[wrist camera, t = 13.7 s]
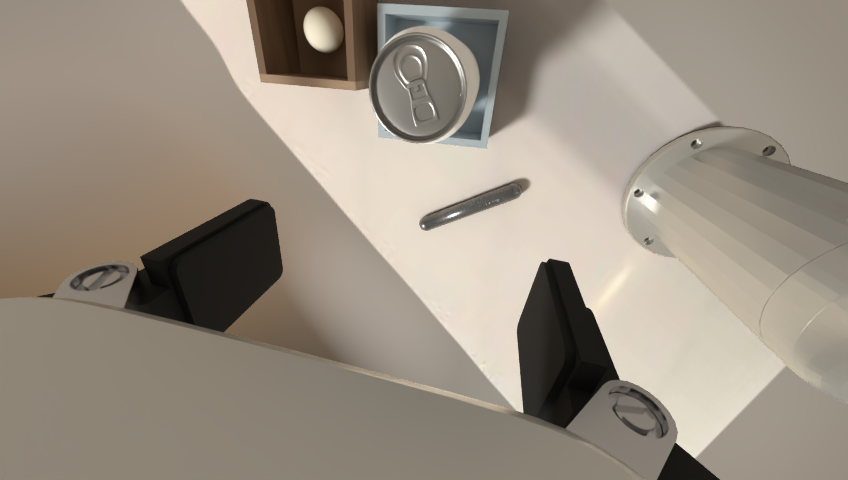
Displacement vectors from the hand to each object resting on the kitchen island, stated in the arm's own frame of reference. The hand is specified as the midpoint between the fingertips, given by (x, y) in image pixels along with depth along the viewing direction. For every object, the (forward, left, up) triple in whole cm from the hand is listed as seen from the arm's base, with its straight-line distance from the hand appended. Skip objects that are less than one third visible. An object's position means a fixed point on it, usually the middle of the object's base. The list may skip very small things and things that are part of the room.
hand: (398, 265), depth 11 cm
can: (+1, -5, -22) cm, 23 cm away
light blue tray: (+2, -5, -23) cm, 23 cm away
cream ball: (+12, -8, -22) cm, 26 cm away
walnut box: (+12, -8, -23) cm, 27 cm away
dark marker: (-2, +7, -23) cm, 24 cm away
